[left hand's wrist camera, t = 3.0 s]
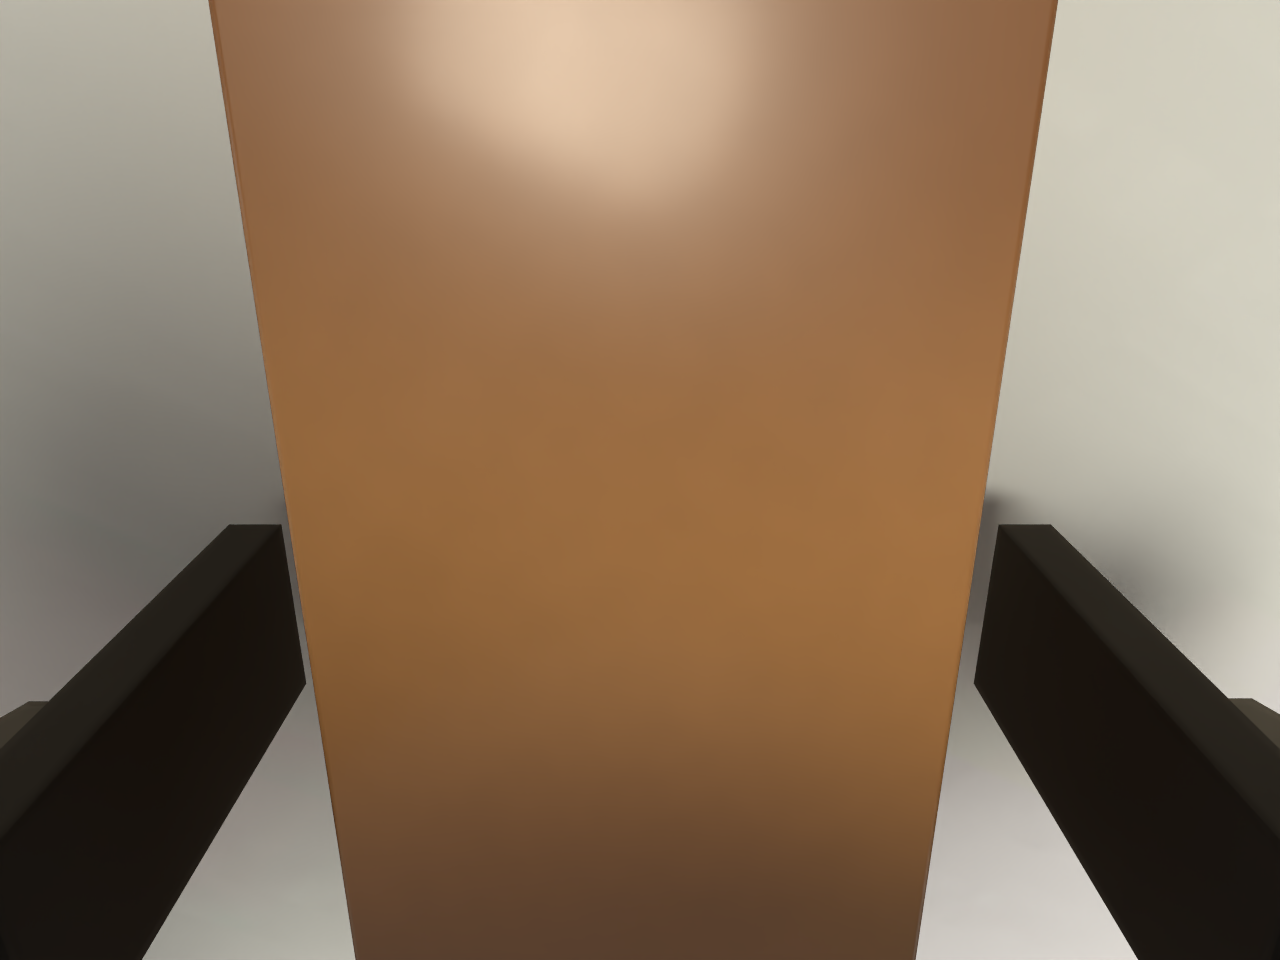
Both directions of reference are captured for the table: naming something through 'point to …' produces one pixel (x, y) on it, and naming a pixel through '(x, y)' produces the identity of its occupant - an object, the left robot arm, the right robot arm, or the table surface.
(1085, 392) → the table surface
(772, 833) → the post
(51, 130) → the table surface
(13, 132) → the table surface
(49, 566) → the table surface
